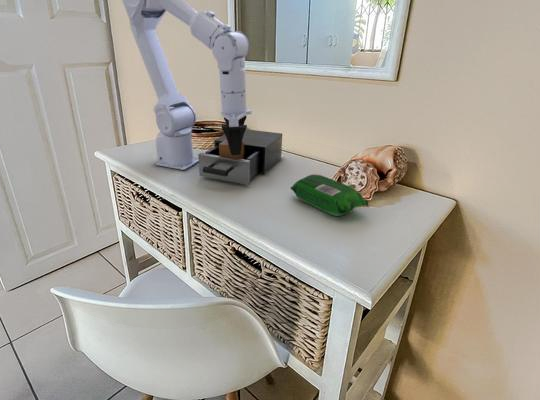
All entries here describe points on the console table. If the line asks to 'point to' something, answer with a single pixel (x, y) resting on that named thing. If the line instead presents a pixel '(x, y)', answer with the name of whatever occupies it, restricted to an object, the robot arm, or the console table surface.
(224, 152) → the tan upright block
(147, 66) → the robot arm
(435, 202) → the console table surface
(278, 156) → the grey drawer cabinet
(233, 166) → the drawer
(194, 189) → the console table surface
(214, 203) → the console table surface
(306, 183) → the snack package
